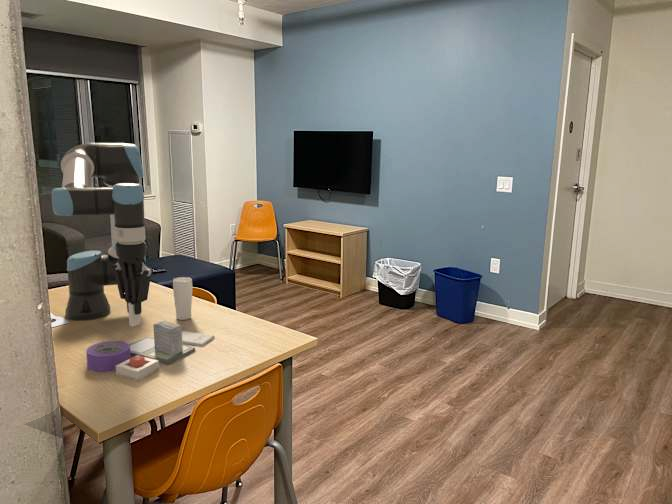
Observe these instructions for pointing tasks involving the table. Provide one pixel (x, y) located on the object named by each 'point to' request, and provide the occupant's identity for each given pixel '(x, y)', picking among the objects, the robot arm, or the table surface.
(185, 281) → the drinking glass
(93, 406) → the table surface
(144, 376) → the button housing
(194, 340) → the external hard drive
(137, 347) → the picture board
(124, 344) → the tape roll
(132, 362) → the button
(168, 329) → the medicine box
